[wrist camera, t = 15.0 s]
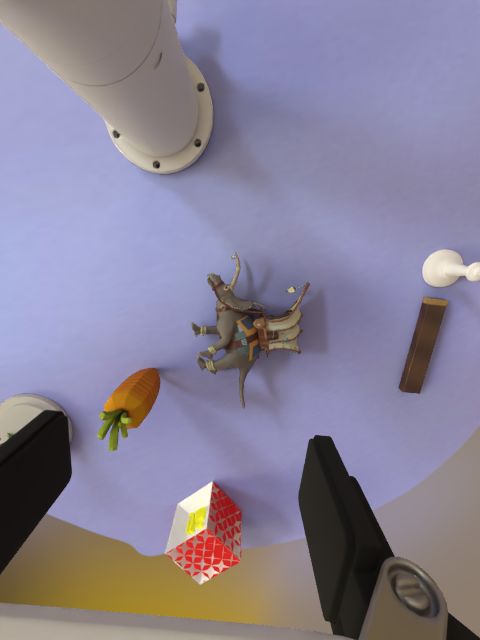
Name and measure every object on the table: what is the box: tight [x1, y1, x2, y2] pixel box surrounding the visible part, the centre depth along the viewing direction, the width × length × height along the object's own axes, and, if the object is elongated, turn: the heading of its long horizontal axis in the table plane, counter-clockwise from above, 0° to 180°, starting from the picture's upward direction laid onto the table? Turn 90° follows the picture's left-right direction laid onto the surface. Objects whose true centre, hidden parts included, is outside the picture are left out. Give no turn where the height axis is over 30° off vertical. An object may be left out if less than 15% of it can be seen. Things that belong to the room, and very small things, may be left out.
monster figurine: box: [0, 394, 73, 446], centre depth 38 cm, size 12×12×10 cm
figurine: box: [191, 252, 310, 408], centre depth 36 cm, size 20×6×17 cm
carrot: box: [97, 368, 160, 451], centre depth 33 cm, size 5×5×15 cm
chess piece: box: [422, 250, 480, 287], centre depth 31 cm, size 5×5×10 cm
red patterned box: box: [165, 481, 241, 584], centre depth 43 cm, size 8×8×8 cm
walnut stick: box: [399, 297, 449, 394], centre depth 38 cm, size 14×3×1 cm, turn 174°
